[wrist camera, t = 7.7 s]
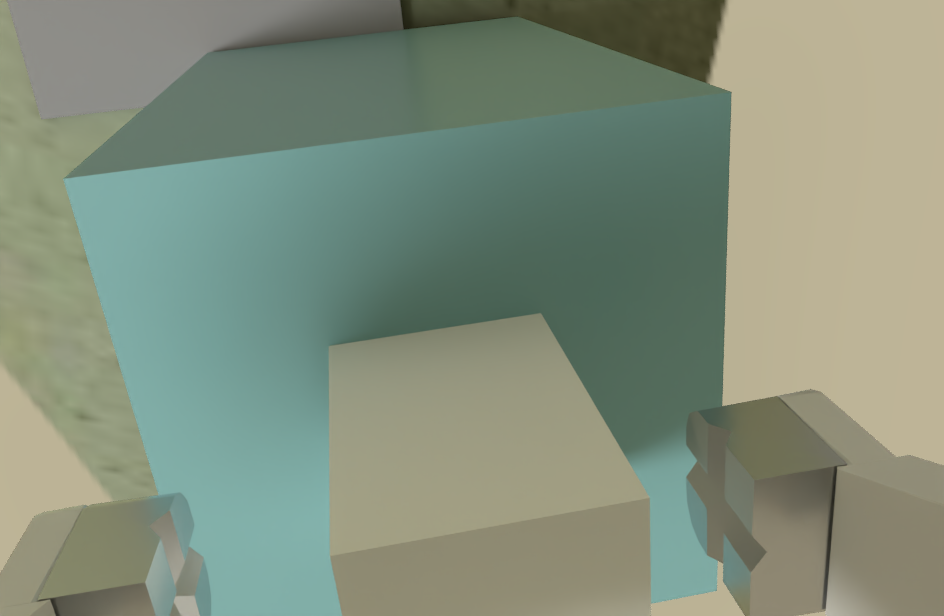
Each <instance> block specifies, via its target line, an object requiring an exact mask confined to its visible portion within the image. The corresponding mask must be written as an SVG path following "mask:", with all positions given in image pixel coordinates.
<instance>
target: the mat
mask: <svg viewBox="0 0 944 616" xmlns="http://www.w3.org/2000/svg"><path fill="white" fill-rule="evenodd" d="M7 2H8V6H9V9H10V13H11V16H12V19H13V23H14V26H15V30H16V33H17V37H18V40H19V44H20V47H21V51H22V54H23V58H24V61H25V65H26V68H27V72H28V75H29V78H30V82H31V85H32V89H33V92H34V96H35V99H36V103H37V106H38V110H39V113H40V117H41V119H47V118H56V117H64V116H73V115H82V114H90V113H99V112H107V111H116V110H125V109H133V108H142V107H146V106H147V105H148V104H149V103H151V102H152V101H153V100H154V99H155V98H156V97H157V96H159V95H160V94H161V93H162V92H163V91H164V90H165V89H167V88H168V87H169V86H170V85H171V84H172V83H173V82H175V81H176V80H177V79H178V78H179V77H180V76H181V75H183V74H184V73H185V72H186V71H187V70H188V69H189V68H191V67H192V66H193V65H194V64H195V63H196V62H197V61H199V60H200V59H201V58H202V57H203V56H204V55H205V54H207V53H208V52H217V51H226V50H234V49H243V48H251V47H260V46H268V45H277V44H286V43H294V42H303V41H311V40H320V39H329V38H337V37H346V36H354V35H363V34H371V33H380V32H389V31H397V30H404V29H403V20H402V12H401V4H400V0H7Z"/></svg>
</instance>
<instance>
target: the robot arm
mask: <svg viewBox="0 0 944 616" xmlns="http://www.w3.org/2000/svg"><path fill="white" fill-rule="evenodd" d="M686 445H687V447H688V448H689V450H690V451H691V452H692V454H693V455H694V457H695V458H696V460H697V462H696V463H695V465H694V466H693V468H692V469H691V471H690V472H689V474H688V475H687V476H686V491H687V505H688V509H689V514H690V519H691V523H692V526H693V529H694V531H695V534H696V536H697V539H698V541H699V543H700V544H701V546H702V548H703V549H704V551H705V553H706V554H707V556H709V557H711V558H713V559H715V560H717V561H719V562H722V563H723V582H724V583H725V585H726V586H727V588H728V590H729V591H730V593H731V594H732V596H733V597H734V599H735V601H736V602H737V604H738V606H739V607H740V608H741V610H742V612H743V613H744V615H745V616H796V615H803V614H810V613H816V612H823V611H826V615H827V616H944V466H943V465H940V464H937V463H934V462H931V461H927V460H924V459H921V458H918V457H914V456H911V455H907V456H901V457H896V456H895V455H893V454H892V453H891V452H890V451H889V450H888V449H887V448H885V447H884V446H883V445H882V444H881V443H879V442H878V441H877V440H876V439H875V438H874V437H873V436H872V435H870V434H869V433H868V432H867V431H866V430H865V429H863V428H862V427H861V426H860V425H859V424H858V423H857V422H855V421H854V420H853V419H852V418H851V417H850V416H848V415H847V414H846V413H845V412H844V411H843V410H841V409H840V408H839V407H838V406H837V405H836V404H835V403H833V402H832V401H831V400H830V399H829V398H828V397H826V396H825V395H824V394H823V393H822V392H819V391H815V390H811V389H810V390H805V391H800V392H796V393H790V394H785V395H780V396H775V397H770V398H765V399H760V400H754V401H749V402H743V403H738V404H733V405H727V406H721V407H716V408H711V409H705V410H700V411H695V412H691V413H689V416H688V420H687V424H686ZM194 526H195V524H194V520H193V517H192V514H191V510H190V507H189V504H188V501H187V499H186V498H185V497H184V496H183V494H182V493H181V492H178V493H171V494H164V495H157V496H149V497H142V498H135V499H128V500H121V501H114V502H106V503H100V504H92V505H89V506H86V505H82V506H76V507H70V508H64V509H59V510H53V511H47V512H43V513H41V514H38V515H36V516H34V518H33V519H32V521H31V522H30V524H29V525H28V527H27V529H26V531H25V532H24V534H23V536H22V537H21V539H20V541H19V543H18V544H17V546H16V548H15V549H14V551H13V553H12V554H11V556H10V558H9V559H8V561H7V563H6V565H5V566H4V568H3V570H2V571H1V573H0V616H211V591H210V584H209V576H208V572H207V568H206V564H205V561H204V557H203V556H201V555H200V554H199V553H197V552H196V551H195V550H193V549H192V548H191V547H189V544H190V541H191V537H192V533H193V529H194Z"/></svg>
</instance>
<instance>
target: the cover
mask: <svg viewBox="0 0 944 616" xmlns="http://www.w3.org/2000/svg"><path fill="white" fill-rule="evenodd" d="M730 120H731V92H730V91H727V90H724V89H721V88H718V87H716V86H713V85H710V84H707V83H704V82H701V81H699V80H696V79H693V78H690V77H687V76H685V75H682V74H679V73H676V72H673V71H670V70H668V69H665V68H662V67H659V66H656V65H653V64H651V63H648V62H645V61H642V60H639V59H636V58H634V57H631V56H628V55H625V54H622V53H619V52H617V51H614V50H611V49H608V48H605V47H602V46H600V45H597V44H594V43H591V42H588V41H586V40H583V39H580V38H577V37H574V36H571V35H569V34H566V33H563V32H560V31H557V30H554V29H552V28H549V27H546V26H543V25H540V24H537V23H535V22H532V21H529V20H526V19H523V18H520V17H518V16H517V17H509V18H500V19H492V20H483V21H474V22H466V23H457V24H449V25H440V26H431V27H423V28H414V29H406V30H397V31H389V32H380V33H371V34H363V35H354V36H346V37H337V38H329V39H320V40H311V41H303V42H294V43H286V44H277V45H268V46H260V47H251V48H243V49H234V50H226V51H217V52H208V53H207V54H205V55H204V56H203V57H202V58H201V59H200V60H199V61H197V62H196V63H195V64H194V65H193V66H192V67H191V68H189V69H188V70H187V71H186V72H185V73H184V74H183V75H181V76H180V77H179V78H178V79H177V80H176V81H175V82H173V83H172V84H171V85H170V86H169V87H168V88H167V89H165V90H164V91H163V92H162V93H161V94H160V95H159V96H157V97H156V98H155V99H154V100H153V101H152V102H151V103H149V104H148V105H147V106H146V107H145V108H144V109H143V110H141V111H140V112H139V113H138V114H137V115H136V116H135V117H133V118H132V119H131V120H130V121H129V122H128V123H127V124H125V125H124V126H123V127H122V128H121V129H120V130H119V131H117V132H116V133H115V134H114V135H113V136H112V137H111V138H109V139H108V140H107V141H106V142H105V143H104V144H103V145H101V146H100V147H99V148H98V149H97V150H96V151H95V152H93V153H92V154H91V155H90V156H89V157H88V158H87V159H85V160H84V161H83V162H82V163H81V164H80V165H79V166H77V167H76V168H75V169H74V170H73V171H72V172H71V173H69V174H68V175H67V176H66V177H65V178H64V183H65V186H66V189H67V193H68V196H69V199H70V203H71V206H72V209H73V213H74V216H75V219H76V222H77V226H78V229H79V232H80V236H81V239H82V242H83V246H84V249H85V252H86V256H87V259H88V262H89V266H90V269H91V272H92V275H93V279H94V282H95V285H96V289H97V292H98V295H99V299H100V302H101V305H102V309H103V312H104V315H105V319H106V322H107V325H108V329H109V332H110V335H111V338H112V342H113V345H114V348H115V352H116V355H117V358H118V362H119V365H120V368H121V372H122V375H123V378H124V382H125V385H126V388H127V391H128V395H129V398H130V401H131V405H132V408H133V411H134V415H135V418H136V421H137V425H138V428H139V431H140V435H141V438H142V441H143V444H144V448H145V451H146V454H147V458H148V461H149V464H150V468H151V471H152V474H153V478H154V481H155V484H156V488H157V491H158V494H159V495H164V494H171V493H178V492H181V493H182V494H183V496H184V497H185V498H186V499H187V501H188V504H189V507H190V510H191V514H192V517H193V520H194V524H195V526H194V529H193V533H192V537H191V541H190V544H189V547H191V548H192V549H193V550H195V551H196V552H197V553H199V554H200V555H201V556H203V557H204V561H205V564H206V568H207V572H208V576H209V584H210V591H211V616H651V604H652V603H656V602H662V601H666V600H672V599H677V598H682V597H687V596H692V595H697V594H703V593H707V592H713V591H717V563H718V561H717V560H715V559H713V558H711V557H709V556H707V554H706V553H705V551H704V549H703V548H702V546H701V544H700V543H699V541H698V539H697V536H696V534H695V531H694V529H693V526H692V523H691V519H690V514H689V509H688V505H687V491H686V476H687V475H688V474H689V472H690V471H691V469H692V468H693V466H694V465H695V463H696V462H697V460H696V458H695V457H694V455H693V454H692V452H691V451H690V450H689V448H688V447H687V445H686V424H687V420H688V416H689V413H691V412H695V411H700V410H705V409H711V408H716V407H721V406H722V394H723V359H724V325H725V292H726V291H725V290H726V256H727V223H728V189H729V186H728V185H729V156H730V122H731V121H730Z"/></svg>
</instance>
